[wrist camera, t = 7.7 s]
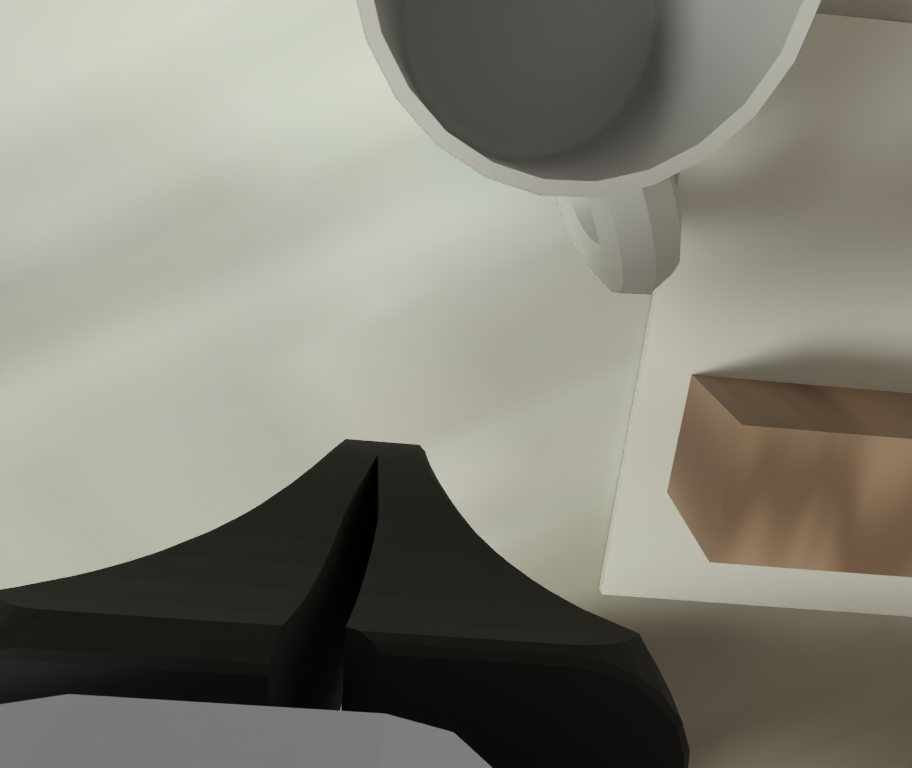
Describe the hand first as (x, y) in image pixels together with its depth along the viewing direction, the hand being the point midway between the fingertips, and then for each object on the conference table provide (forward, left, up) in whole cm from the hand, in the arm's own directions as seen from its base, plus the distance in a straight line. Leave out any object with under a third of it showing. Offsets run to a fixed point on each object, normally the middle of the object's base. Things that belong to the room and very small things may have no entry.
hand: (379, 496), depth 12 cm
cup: (+7, -3, -11) cm, 13 cm away
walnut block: (-2, -16, -8) cm, 18 cm away
